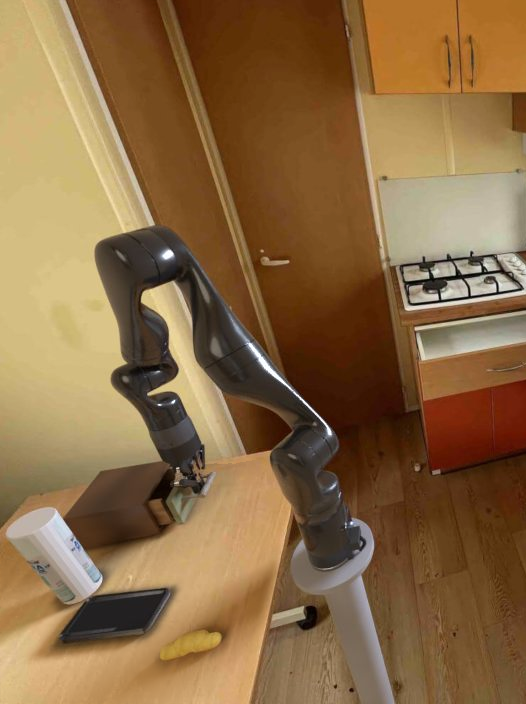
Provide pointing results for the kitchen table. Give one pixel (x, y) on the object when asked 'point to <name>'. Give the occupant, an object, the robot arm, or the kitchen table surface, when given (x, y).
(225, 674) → the kitchen table surface
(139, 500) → the cabinet
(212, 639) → the yellow cheese puff
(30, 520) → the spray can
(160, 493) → the drawer
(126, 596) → the phone
